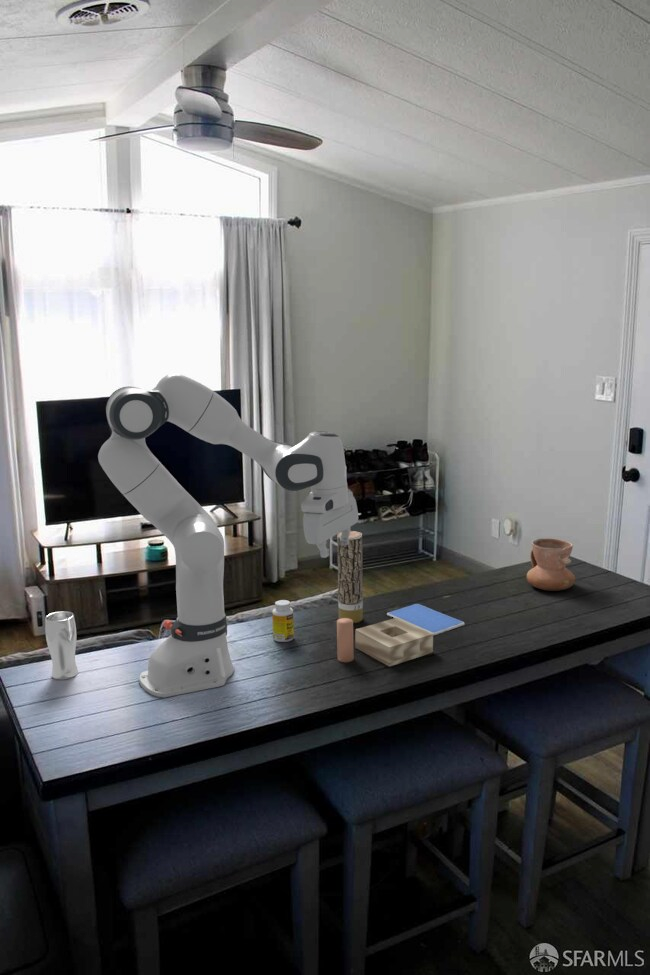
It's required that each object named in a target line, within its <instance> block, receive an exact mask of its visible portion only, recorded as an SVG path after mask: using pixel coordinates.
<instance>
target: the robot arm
mask: <svg viewBox="0 0 650 975" xmlns="http://www.w3.org/2000/svg"><path fill="white" fill-rule="evenodd" d="M105 414H106V420H107V424H108V428H109V433H110V437H109V438H107V440H106V441H104V443H103V444H102V445H101V447H100V449H99V451H98V454H97V458H98V459H97V460H98V463H99V465H100V467H101V468H102V470H103V471H104V473H105V474H106V475H107V476H106V477H108V478H109V480H110V481H111V482H112V484H113V485H114V486H115V488H116V489H117V490H118V491H119V492H120V493H121V495H122V496H123V497H125V499H126V500H127V501H128V502H129V503H130V504H131V505H132V506H133V507H134V508H135V509H136V510H137V512H138V513H139V514H140V515H141V516H142V517H143V518H144V519H145V520H146V521H147V522H149V523H150V524H151V525H152V526H154V528H156V529H157V530H158V531H159V532H160V533H161V534H162V535H163V536H164V537H166V539H167V540H168V541H169V542H170V543H171V545H172V546H173V548H174V554H175V591H176V592H175V594H176V607H177V608H176V611H177V617H176V618H175V621H174V622H172V621H171V620H169V619H165V620H164V621H163V628H165V629H166V630H168V631H170V632H171V633H170V635H169V636H168V637H167V638H166V639H165V640H164V641H163V642H161V644H160V645H159V646H158V647H156V649H155V650H153V651H152V652H151V654H150V656H149V659H148V664H147V665H148V666H147V667H148V668H147V670H144V671H141V673H139V677H138V682H139V685H140V686H141V687H142V689H143V690H144V691H145V692H147V693H148V694H150V695H152V696H155V697H158V698H168V697H173V696H180V695H182V694H188V693H193V692H198V691H203V690H209V689H213V688H218V687H223V686H225V684H226V683H227V680H228V679H229V677H230V676H232V675H233V673H234V671H235V667H234V665H233V662H232V659H231V658H232V657H231V654H230V652H229V645H228V640H227V635H228V622H227V614H226V613H225V600H224V599H225V598H224V596H225V595H224V572H225V540H224V536H223V535H222V532H221V530H220V529H219V527H218V525H217V523H216V521H215V519H213V517H212V516H211V515H210V514H209V513H208V511H206V509H205V508H203V507H202V505H200V503H199V502H198V501H197V500H196V499H195V498H194V497H193V496H192V495H191V494H190V493H189V492H188V491H187V490H186V489H185V488H184V487H183V485H181V484H180V483H179V482H178V480H177V479H176V478H175V477H174V476H173V475H172V474H171V473H170V471H169V470H168V469H167V468H166V467H165V465H163V464H162V462H161V461H159V459H158V458H157V457H156V456H155V455H154V454H153V452H152V451H151V450H150V448H149V447H148V446H147V443H146V438H147V437H150V435H152V434H153V433H156V431H157V430H158V429H159V428H160V427H162V425H164V424H165V423H166V422H169V423H171V424H174V425H176V426H177V427H179V428H181V429H182V430H184V431H185V432H187V433H189V434H190V435H191V436H194V437H196V439H197V438H198V439H199V440H202V441H204V442H206V443H210V444H212V445H227V446H230V447H231V448H234V449H235V450H237V451H239V452H241V453H242V454H243V455H245V456H246V457H249V459H252V460H254V462H256V463H257V464H258V465H259V466H260V467H261V469H262V471H263V472H264V474H265V475H266V476H267V478H268V479H269V480H271V481H273V482H274V483H276V484H278V485H279V486H280V487H281V488H282V489H284V490H287V491H289V492H297V491H301V490H305V489H308V488H311V489H310V490H311V491H310V492H309V494H308V495H307V496H306V498H304V500H303V501H302V503H300V508H301V512H303V513H304V514H303V517H302V525H303V526H302V527H303V534H304V539H305V542H306V543H307V544H309V545H316V546H317V549H318V550H319V553H320V554H319V555H320V558H322V559H323V558H324V559H325V558H327V557H330V549H329V548H327V546H326V545H327V540H329V539H331V538H333V537H335V536H336V535H337V534H338V533H340V532H342V535H341V538H340V545H341V546H346V545H348V544H349V535H350V531H352V530H351V528H352V526H354V525H356V524H358V522H359V511H358V505H357V501H356V498H355V496H354V493H353V491H352V490H351V489H350V488H349V487H348V482H347V478H346V474H345V473H346V472H345V471H346V458H345V451H344V446H343V442H342V439H341V437H340V436H339V435H338V434H336V433H335V432H334V433H333V432H328V431H325V430H324V431H322V430H321V431H319V430H317V431H311V432H309V434H308V435H307V436H306V437H305V438H304V439H303V440H301V441H300V442H299V443H297V444H296V445H292V444H290V443H287V442H280V441H273V440H271V439H270V438H267V437H266V436H264V435H262V434H261V433H260V432H258V431H256V430H255V429H253V428H252V427H250V426H249V425H247V424H246V423H245V421H243V420H242V419H241V417H240V416H239V413H238V411H237V409H235V407H234V406H233V405H232V404H231V403H230V402H229V401H227V400H226V399H225V398H224V397H222V395H220V394H218V393H217V392H216V391H214V390H212V389H210V388H209V387H208V386H206V385H204V384H202V383H201V382H198V381H197V380H195V379H194V378H193V379H192V378H191V377H188V376H186V375H183V374H180V373H177V372H173V373H169V374H166V375H165V376H164V377H162V378H160V380H159V381H158V383H157V384H156V386H155V387H154V388H152V389H149V390H146V389H142V388H140V387H136V386H129V385H128V386H122V387H119V388H118V389H116V390H115V391H114V392H112V393H111V394H110V395H109V397H108V399H107V402H106V404H105Z"/></svg>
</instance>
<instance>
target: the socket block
mask: <svg viewBox="0 0 650 975" xmlns="http://www.w3.org/2000/svg"><path fill="white" fill-rule="evenodd" d="M354 630H355V633H354V634H355V636H354V637H355V641H354V642H355V649H357V650H359V651H360V652H363V653H364V654H366V655H368V656H370V657H371V658H373V659H375V660H377V661H378V662H380V663H382V664H384V665H385V666H387V667H393V666H395V665H399V664H401V663H405V662H408V661H410V660H414V659H416V658H417V659H418V658H420V657H423V656H426V655H427V656H428V655H430V654H432V653H434V635H433V634H432V633H430V632H428V631H426V630H424V629H422V628H420V627H417V626H415V625H413V624H411V623H409V622H407V621H405V620H403V619H400V618H398V617H397V618H391V619H386V620H383V621H380V622H377V623H373V624H369V625H366V626H363V627H360V628H356V629H354Z"/></svg>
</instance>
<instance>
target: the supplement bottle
mask: <svg viewBox="0 0 650 975" xmlns="http://www.w3.org/2000/svg"><path fill="white" fill-rule="evenodd" d="M271 614H272V637H273V640H274V641H275V642H279V643H287V642H290V641H292V640H294V637H295V633H294V632H295V631H294V629H295V628H294V626H295V625H294V610H293V608H292V607H291V602H290V601H289V600H286V599H280V600H277V601H275V602H274V608H273V609H272V613H271Z"/></svg>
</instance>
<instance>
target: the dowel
mask: <svg viewBox="0 0 650 975" xmlns="http://www.w3.org/2000/svg"><path fill="white" fill-rule="evenodd" d="M336 634H337V635H336V640H337V641H336V642H337V643H336V644H337V645H336V649H337V654H336V655H337V661H339V662H341V663H349V662H353V661H354V658H355V657H354V624H353V620H352V619H349V618H341V619H339V618H338V619H337V620H336Z"/></svg>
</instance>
